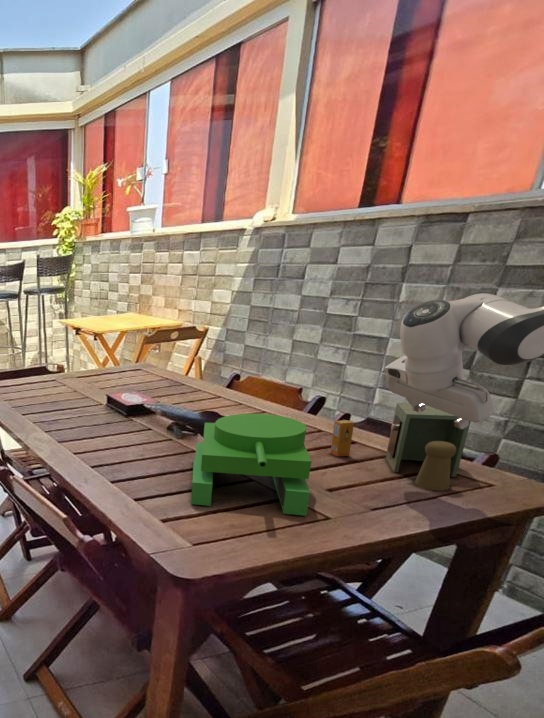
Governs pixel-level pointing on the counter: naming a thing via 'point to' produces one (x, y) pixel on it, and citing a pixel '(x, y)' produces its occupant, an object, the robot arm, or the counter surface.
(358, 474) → the counter surface
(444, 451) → the cork
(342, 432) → the supplement box
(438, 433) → the oven box
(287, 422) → the tank
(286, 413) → the counter surface
